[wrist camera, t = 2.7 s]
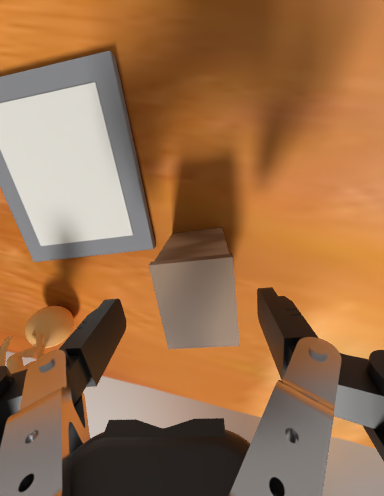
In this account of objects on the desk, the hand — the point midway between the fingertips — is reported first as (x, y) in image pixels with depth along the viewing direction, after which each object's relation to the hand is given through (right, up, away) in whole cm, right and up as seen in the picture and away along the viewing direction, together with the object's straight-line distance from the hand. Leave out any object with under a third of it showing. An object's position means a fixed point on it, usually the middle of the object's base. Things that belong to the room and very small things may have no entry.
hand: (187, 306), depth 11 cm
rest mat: (-10, +9, +5) cm, 15 cm away
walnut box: (+1, +2, +7) cm, 7 cm away
